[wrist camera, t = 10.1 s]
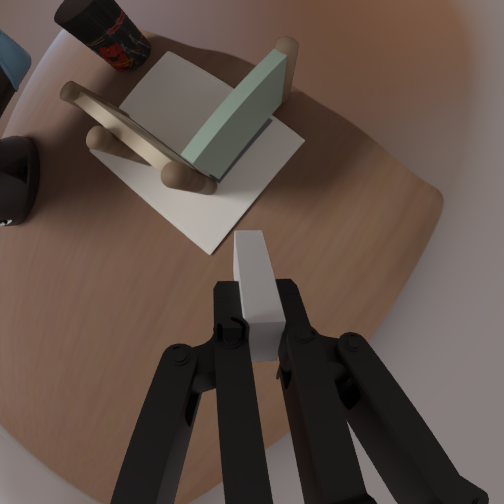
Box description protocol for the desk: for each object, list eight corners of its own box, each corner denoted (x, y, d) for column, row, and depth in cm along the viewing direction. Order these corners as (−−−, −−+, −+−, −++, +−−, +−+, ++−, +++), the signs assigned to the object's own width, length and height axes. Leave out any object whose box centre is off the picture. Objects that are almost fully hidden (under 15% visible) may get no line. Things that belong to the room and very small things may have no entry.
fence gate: (221, 180, 30) (195, 165, 18) (209, 171, 30) (176, 152, 18) (292, 95, 28) (303, 43, 16) (279, 87, 28) (284, 33, 16)
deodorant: (158, 41, 28) (111, -21, 13) (137, 75, 29) (76, 22, 14) (127, 37, 28) (76, -15, 13) (107, 69, 29) (45, 25, 14)
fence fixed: (107, 132, 30) (48, 109, 18) (123, 110, 29) (69, 78, 17) (201, 210, 31) (162, 212, 19) (220, 184, 30) (192, 171, 18)
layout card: (90, 150, 31) (88, 150, 30) (168, 51, 28) (168, 50, 28) (210, 254, 32) (209, 255, 31) (305, 141, 29) (305, 140, 29)
